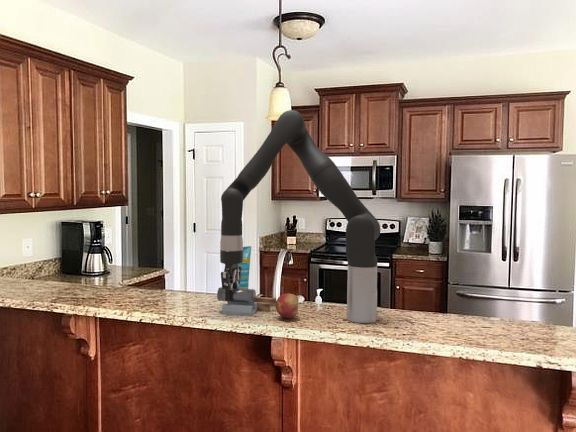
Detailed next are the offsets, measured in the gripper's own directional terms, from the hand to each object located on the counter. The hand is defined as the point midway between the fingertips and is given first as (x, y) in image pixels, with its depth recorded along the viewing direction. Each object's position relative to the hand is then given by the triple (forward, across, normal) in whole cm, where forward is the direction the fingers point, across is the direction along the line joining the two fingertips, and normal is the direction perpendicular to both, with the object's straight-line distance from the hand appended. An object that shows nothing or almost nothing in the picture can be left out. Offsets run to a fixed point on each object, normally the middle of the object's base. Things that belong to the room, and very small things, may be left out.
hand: (231, 299), depth 157 cm
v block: (+4, 0, +3) cm, 5 cm away
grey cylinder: (-1, 0, +2) cm, 2 cm away
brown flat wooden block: (+4, -9, +6) cm, 12 cm away
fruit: (+5, +3, +20) cm, 21 cm away
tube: (+4, -26, -5) cm, 27 cm away
